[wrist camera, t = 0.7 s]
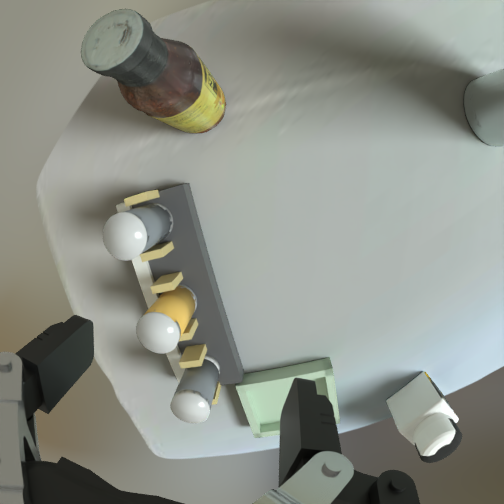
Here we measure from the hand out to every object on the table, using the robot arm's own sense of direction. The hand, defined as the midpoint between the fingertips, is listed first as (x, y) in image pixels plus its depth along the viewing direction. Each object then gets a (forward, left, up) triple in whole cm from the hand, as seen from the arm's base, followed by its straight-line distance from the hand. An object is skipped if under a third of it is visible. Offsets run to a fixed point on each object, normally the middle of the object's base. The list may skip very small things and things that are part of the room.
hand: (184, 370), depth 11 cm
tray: (-1, +22, -25) cm, 33 cm away
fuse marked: (+8, +5, -22) cm, 24 cm away
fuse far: (+8, +14, -22) cm, 27 cm away
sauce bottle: (+1, -15, -25) cm, 29 cm away
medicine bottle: (-19, +29, -25) cm, 42 cm away
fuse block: (+8, +5, -25) cm, 26 cm away
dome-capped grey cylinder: (+8, -4, -22) cm, 24 cm away
